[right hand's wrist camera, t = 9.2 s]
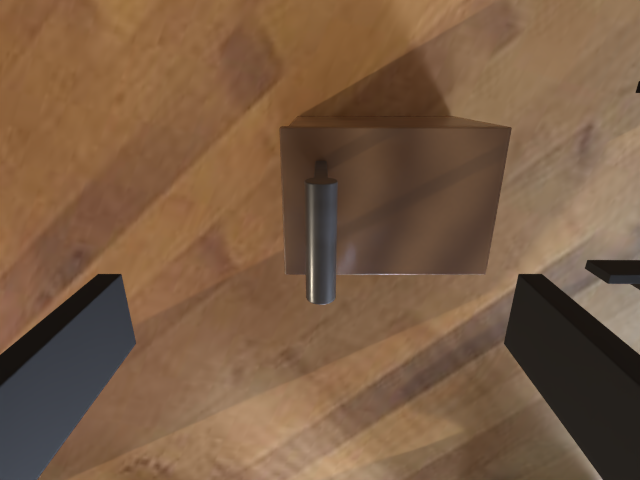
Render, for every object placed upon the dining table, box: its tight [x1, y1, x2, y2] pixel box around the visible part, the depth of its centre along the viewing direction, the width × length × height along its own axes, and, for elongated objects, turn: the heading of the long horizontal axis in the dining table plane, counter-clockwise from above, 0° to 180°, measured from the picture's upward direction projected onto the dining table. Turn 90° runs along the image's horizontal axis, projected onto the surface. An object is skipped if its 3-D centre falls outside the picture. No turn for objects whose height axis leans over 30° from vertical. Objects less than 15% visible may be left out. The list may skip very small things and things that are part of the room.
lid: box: [280, 126, 511, 304], centre depth 21 cm, size 14×10×8 cm
